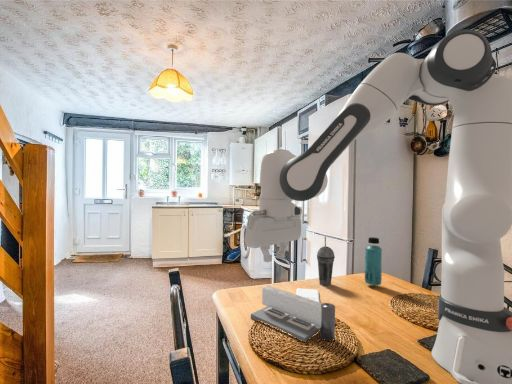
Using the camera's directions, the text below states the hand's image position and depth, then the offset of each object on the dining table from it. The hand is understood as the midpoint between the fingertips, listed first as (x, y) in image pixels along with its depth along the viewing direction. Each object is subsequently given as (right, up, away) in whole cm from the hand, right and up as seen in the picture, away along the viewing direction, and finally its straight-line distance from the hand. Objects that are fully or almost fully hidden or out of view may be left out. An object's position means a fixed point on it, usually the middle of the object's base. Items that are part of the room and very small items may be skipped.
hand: (274, 259), depth 76 cm
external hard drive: (+13, -20, +23) cm, 34 cm away
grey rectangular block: (+6, -19, +3) cm, 20 cm away
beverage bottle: (+43, -20, +37) cm, 60 cm away
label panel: (+6, -19, +6) cm, 21 cm away
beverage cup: (+24, -20, +38) cm, 49 cm away
